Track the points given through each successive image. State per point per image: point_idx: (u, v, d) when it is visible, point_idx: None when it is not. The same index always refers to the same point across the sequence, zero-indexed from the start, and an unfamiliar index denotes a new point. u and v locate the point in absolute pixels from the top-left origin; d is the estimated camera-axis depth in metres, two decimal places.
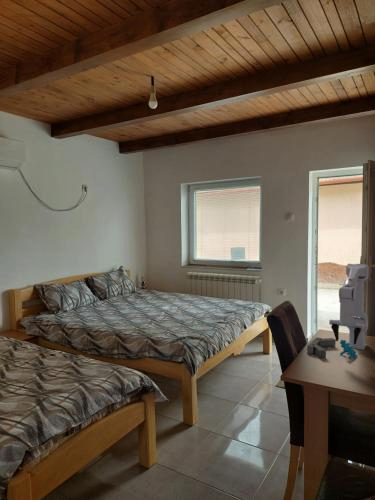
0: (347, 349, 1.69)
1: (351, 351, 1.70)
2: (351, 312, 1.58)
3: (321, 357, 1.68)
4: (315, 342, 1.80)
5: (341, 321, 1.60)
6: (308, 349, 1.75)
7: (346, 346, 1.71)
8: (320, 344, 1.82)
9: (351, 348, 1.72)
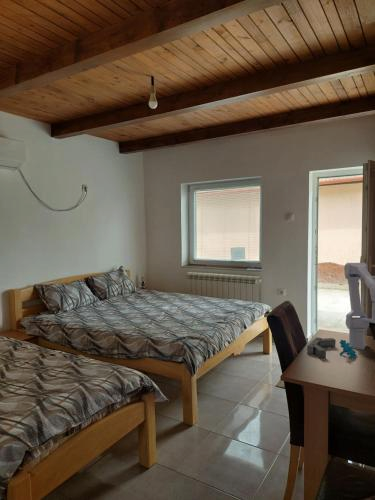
0: (347, 349, 1.69)
1: (351, 351, 1.70)
2: None
3: (321, 357, 1.68)
4: (315, 342, 1.80)
5: (373, 319, 1.62)
6: (308, 349, 1.75)
7: (346, 346, 1.71)
8: (320, 344, 1.82)
9: (351, 348, 1.72)
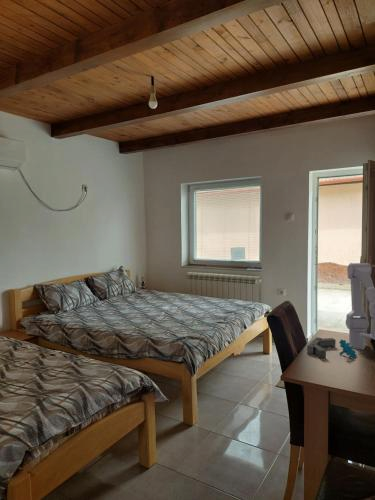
0: (346, 349, 1.69)
1: (350, 351, 1.70)
2: None
3: (321, 357, 1.68)
4: (315, 342, 1.80)
5: (372, 335, 1.63)
6: (308, 349, 1.75)
7: (345, 346, 1.71)
8: (320, 344, 1.82)
9: (351, 348, 1.73)
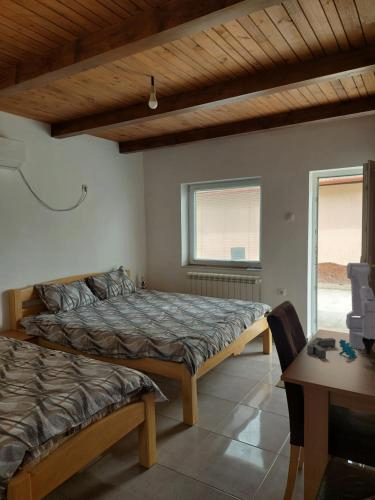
0: (346, 349, 1.69)
1: (350, 351, 1.70)
2: None
3: (321, 357, 1.68)
4: (315, 342, 1.80)
5: (364, 334, 1.65)
6: (308, 349, 1.75)
7: (345, 346, 1.71)
8: (320, 344, 1.82)
9: (350, 348, 1.73)
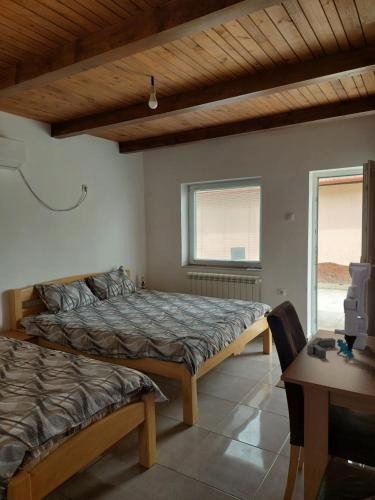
0: (344, 348, 1.70)
1: None
2: (355, 322, 1.67)
3: (321, 357, 1.68)
4: (315, 342, 1.80)
5: (346, 331, 1.69)
6: (308, 349, 1.75)
7: (343, 345, 1.72)
8: (320, 344, 1.82)
9: None
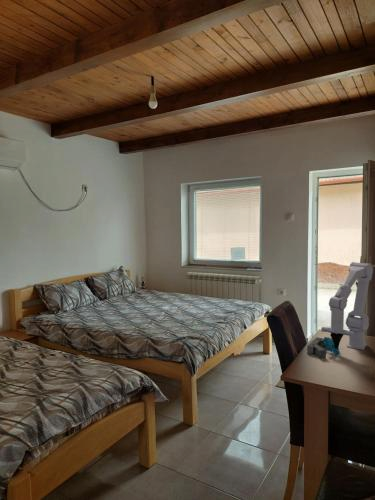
0: (330, 346, 1.74)
1: (334, 348, 1.75)
2: (339, 320, 1.71)
3: (321, 357, 1.68)
4: (315, 342, 1.80)
5: (332, 328, 1.73)
6: (308, 349, 1.75)
7: (329, 343, 1.75)
8: (320, 344, 1.82)
9: None
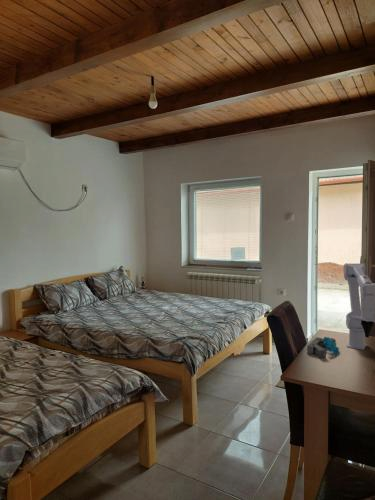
0: (330, 346, 1.74)
1: (334, 348, 1.75)
2: (374, 307, 1.65)
3: (321, 357, 1.68)
4: (315, 342, 1.80)
5: (363, 316, 1.67)
6: (308, 349, 1.75)
7: (329, 343, 1.75)
8: (320, 344, 1.82)
9: (334, 345, 1.77)
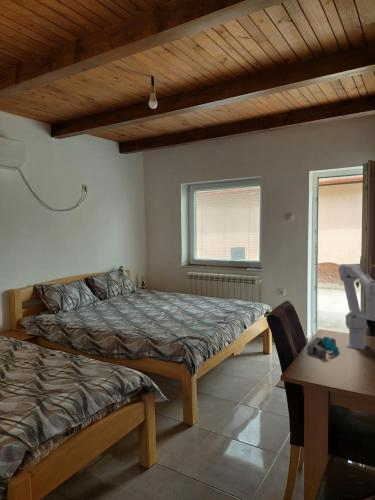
0: (329, 346, 1.74)
1: (333, 348, 1.75)
2: None
3: (321, 357, 1.68)
4: (315, 342, 1.80)
5: (368, 316, 1.68)
6: (308, 349, 1.75)
7: (328, 343, 1.76)
8: (320, 344, 1.82)
9: (334, 345, 1.77)
